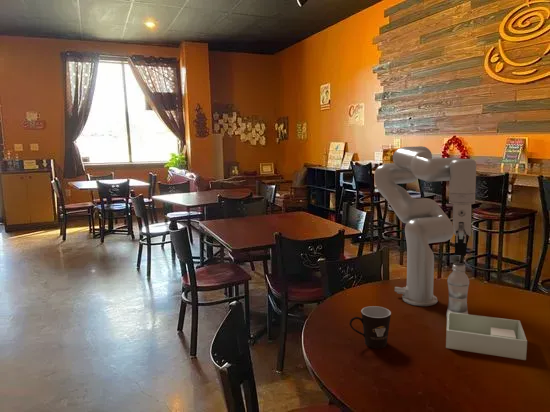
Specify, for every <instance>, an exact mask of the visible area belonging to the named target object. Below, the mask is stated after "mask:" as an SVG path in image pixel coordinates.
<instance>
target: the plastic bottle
mask: <svg viewBox="0 0 550 412" xmlns="http://www.w3.org/2000/svg"><path fill="white" fill-rule="evenodd" d="M451 270H452V272H450V274H449V275H448V277H447V280H446V281H447V288H448V304H447V310H446V313H445V314H446V317H447V312H454V313H462V314H469V311H468V303H467V302H468V292H469V286H470V279H469V277H468V275H467V274H466V264H465V263H459V262H455V263H453V264H452V269H451Z"/></svg>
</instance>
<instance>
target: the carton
mask: <svg viewBox="0 0 550 412" xmlns="http://www.w3.org/2000/svg"><path fill="white" fill-rule="evenodd" d="M490 335H492V336H499V337H506V338H513V339H516V336H515V332H514V330H508V329H500V328H492V327H491V331H490Z"/></svg>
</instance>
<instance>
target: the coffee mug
mask: <svg viewBox="0 0 550 412" xmlns="http://www.w3.org/2000/svg"><path fill="white" fill-rule="evenodd" d="M360 312H361V317H359V316H354V317H352V318H351V319H350V320H349V326H350V328H351V329H352V330H353V332H355V333H357V334H359V335H361V336H363V338H364V344H365V346H367V347H369V348H371V349H383V348H386V347H387V345H388V340H389V339H388V337H389V331H390V323H391V316H392V311H391V310H389V309H388V308H386V307H383V306H378V305H377V306H376V305H375V306H374V305H372V306H370V305H369V306H365V307H363V308H362V309H361V310H360ZM355 320H359V321H360V322H361V324H362V328H363V330H362V331H363V332H361V331H359V330H357V329H356V328H354V326H353V325H352V323H353V322H354V321H355Z"/></svg>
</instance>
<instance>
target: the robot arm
mask: <svg viewBox="0 0 550 412" xmlns="http://www.w3.org/2000/svg"><path fill="white" fill-rule="evenodd" d="M392 160H393V163H385V164H384V163H383V164H381V165H380V166H378V167H377V168H376V169H375V170H374V177H373V179H374V184H375V187H376V189H377V191H378V192H379V194H380V195H381V196H382V197H383V198H384V199H385V200H386V201H387V203H388V204H389V205H390V207H391V208H392V211H394V213H395V215H396V217H398V220H400V221H401V222H402V223H403V224H405V227H404V233H405V234H404V235H405V240H406V241H405V242H406V259H407V260H406V285H405V286H403V287H400V286H394V292H395V293H396V294H399V295H401V298H402V301H403V302H405V303H406V304H408V305H411V306H418V307H431V306H434V305H436V304H437V303H438V297H437V296H436V295H434V275H435V273H434V272H435V270H434V269H435V256H434V255H435V254H434V252H433V250H432V248H431V247H430V245H429V244H435V243H442V242H443V243H445V242H447V241H449V240H451V239H452V238H453V237H454V255H455V256H464V257H465V256H467V242H466V241H467V235H468V237H470V236H471V235H472V233H471V232H472V205H474V204H476V190H477V189H476V187H477V186H476V185H477V184H476V183H477V162H476V160H475V159H473V158H460V157H435V158H433V154H432V152H431V150H430V149H429V148H428V147H426V146H403V147H400V148H398V149H396V150H395V151H394V153H393V155H392ZM417 180H421V181H424V182H443V181H444V182H446V181H447V182H448V181H449V182H448V183H449V188H448V189H449V191H448V203H449V204H452V220H450V218H449V216H448V215H447V214H446V213H445V212H444V211H443V209H442V208H441V206H440V205H439V204H438V202H437V201H435V200H434V199H433V198H432V199H431V198H426V197H425V198H424V197H423V198H421V197H420V198H415V197H412V196H411V194H410V193H409V192H408V191H407V190H406V189H405V188H404V187H402V186H400V185H399V184H412V183H413V182H416V181H417Z"/></svg>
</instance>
